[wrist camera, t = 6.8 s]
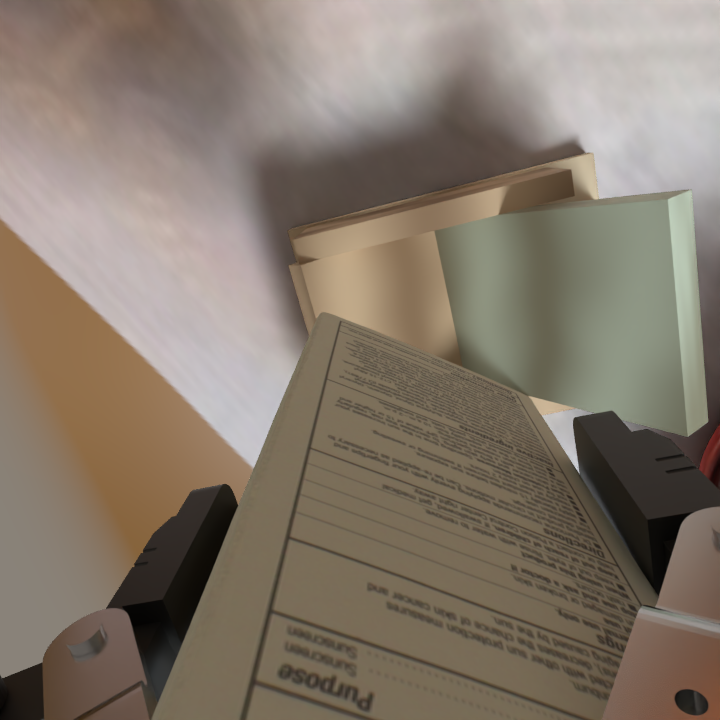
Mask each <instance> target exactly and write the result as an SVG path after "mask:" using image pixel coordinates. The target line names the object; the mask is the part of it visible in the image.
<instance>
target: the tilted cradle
mask: <svg viewBox="0 0 720 720" xmlns="http://www.w3.org/2000/svg"><path fill="white" fill-rule="evenodd" d="M287 232H288V235H289V238H290V242H291V245H292V249H293V252H294V256H295V259H296V263H294V264H291V265H288V266H289V269H290V272H291V276H292V279H293V283H294V286H295V290H296V293H297V297H298V300H299V303H300V307H301V310H302V314H303V317H304V321H305V324H306V327H307V331H308V334H309V335H310V333H311V331H312V328H313V326H314V324H315V321H316V319H317V317H318V315H319V314H320V313H322V312H326V313H330V314H333V315H336V316H338V317H340V318H343V319H346V320H348V321H351V322H354V323H356V324H359V325H361V326H364V327H367V328H369V329H372V330H375V331H377V332H379V333H382V334H384V335H387V336H389V337H392V338H394V339H396V340H399V341H401V342H404V343H406V344H408V345H411V346H413V347H416V348H418V349H420V350H423V351H425V352H428V353H430V354H433V355H435V356H438V357H440V358H442V359H444V360H447V361H449V362H451V363H454V364H456V365H459V366H461V367H463V368H466V369H468V370H470V371H473V372H475V373H477V374H480V375H482V376H484V377H487V378H489V379H491V380H493V381H495V382H498V383H500V384H502V385H505V386H507V387H509V388H511V389H514V390H516V391H518V392H520V393H522V394H525V395H526V396H528V397H529V398H530V399H531V400H532V401H533V403H534V405H535V406H536V408H537V410H538V411H539V413H540V414H541V415H546V414H551V413H556V412H560V411H565V410H570V409H575V408H577V409H581V410H585V411H589V412H593V413H601V412H606V411H614V412H615V413H616V414H617V416H618V417H619V418H620V419H621V420H624V421H628V422H632V423H635V424H639V425H643V426H647V427H651V428H655V429H659V430H663V431H666V432H670V433H674V434H678V435H682V436H686V437H689V436H690V435H691V434H693V433H694V432H695V431H697V430H698V429H700V428H701V427H702V426H704V425H705V424H706V423H708V411H707V397H706V383H705V369H704V355H703V341H702V327H701V313H700V299H699V285H698V271H697V257H696V243H695V229H694V215H693V201H692V189H691V190H681V191H672V192H662V193H652V194H643V195H633V196H623V197H614V198H604V199H599V196H598V188H597V179H596V171H595V163H594V154H593V153H584V154H580V155H576V156H572V157H569V158H565V159H561V160H557V161H553V162H549V163H545V164H541V165H537V166H533V167H529V168H526V169H522V170H518V171H514V172H510V173H506V174H502V175H498V176H494V177H490V178H486V179H483V180H479V181H475V182H471V183H467V184H463V185H459V186H455V187H451V188H447V189H444V190H440V191H436V192H432V193H428V194H424V195H420V196H416V197H412V198H408V199H404V200H401V201H397V202H393V203H389V204H385V205H381V206H377V207H373V208H369V209H365V210H362V211H358V212H354V213H350V214H346V215H342V216H338V217H334V218H330V219H326V220H322V221H319V222H315V223H311V224H307V225H303V226H299V227H295V228H291V229H290V230H288V231H287Z"/></svg>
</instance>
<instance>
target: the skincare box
mask: <svg viewBox="0 0 720 720" xmlns="http://www.w3.org/2000/svg"><path fill="white" fill-rule="evenodd" d="M658 598H659V596H658V595H657V593H656V592H655V590H654V589H653V587H652V586H651V584H650V583H649V581H648V580H647V578H646V577H645V575H644V574H643V572H642V571H641V569H640V568H639V566H638V565H637V563H636V561H635V560H634V558H633V557H632V555H631V554H630V552H629V550H628V549H627V547H626V546H625V544H624V543H623V541H622V540H621V538H620V537H619V535H618V533H617V532H616V530H615V529H614V527H613V526H612V524H611V523H610V521H609V520H608V518H607V517H606V515H605V513H604V512H603V510H602V509H601V507H600V506H599V504H598V503H597V501H596V500H595V498H594V497H593V495H592V493H591V492H590V490H589V489H588V487H587V485H586V484H585V482H584V481H583V479H582V478H581V476H580V474H579V473H578V471H577V470H576V468H575V467H574V465H573V464H572V462H571V460H570V459H569V457H568V456H567V454H566V453H565V451H564V450H563V448H562V447H561V445H560V444H559V442H558V440H557V439H556V437H555V436H554V434H553V433H552V431H551V430H550V428H549V427H548V425H547V423H546V422H545V420H544V419H543V417H542V416H541V414H540V413H539V411H538V410H537V408H536V406H535V405H534V403H533V401H532V400H531V399H530V398H529V397H528V396H526V395H525V394H522V393H520V392H518V391H516V390H514V389H511V388H509V387H507V386H505V385H502V384H500V383H498V382H495V381H493V380H491V379H489V378H487V377H484V376H482V375H480V374H477V373H475V372H473V371H470V370H468V369H466V368H463V367H461V366H459V365H456V364H454V363H451V362H449V361H447V360H444V359H442V358H440V357H438V356H435V355H433V354H430V353H428V352H425V351H423V350H420V349H418V348H416V347H413V346H411V345H408V344H406V343H404V342H401V341H399V340H396V339H394V338H392V337H389V336H387V335H384V334H382V333H379V332H377V331H375V330H372V329H369V328H367V327H364V326H361V325H359V324H356V323H354V322H351V321H348V320H346V319H343V318H340V317H338V316H336V315H333V314H330V313H326V312H322V313H320V314H319V315H318V317H317V319H316V321H315V324H314V326H313V328H312V331H311V333H310V335H309V338H308V340H307V342H306V345H305V347H304V349H303V351H302V354H301V356H300V359H299V361H298V363H297V366H296V368H295V371H294V373H293V375H292V378H291V380H290V382H289V385H288V387H287V389H286V392H285V394H284V396H283V399H282V401H281V403H280V406H279V408H278V411H277V413H276V415H275V418H274V420H273V423H272V425H271V428H270V430H269V433H268V435H267V438H266V440H265V443H264V445H263V448H262V450H261V453H260V455H259V458H258V460H257V462H256V465H255V467H254V469H253V472H252V474H251V477H250V479H249V481H248V484H247V486H246V489H245V491H244V493H243V496H242V498H241V500H240V503H239V505H238V507H237V510H236V512H235V514H234V517H233V519H232V522H231V524H230V527H229V529H228V532H227V534H226V537H225V539H224V542H223V544H222V547H221V549H220V552H219V554H218V557H217V559H216V562H215V564H214V567H213V569H212V572H211V574H210V577H209V579H208V582H207V584H206V587H205V589H204V592H203V594H202V597H201V599H200V602H199V604H198V607H197V609H196V611H195V614H194V616H193V619H192V621H191V624H190V626H189V629H188V631H187V634H186V636H185V639H184V641H183V643H182V646H181V648H180V651H179V653H178V656H177V658H176V660H175V663H174V665H173V668H172V670H171V673H170V675H169V677H168V680H167V682H166V685H165V687H164V690H163V692H162V694H161V697H160V699H159V702H158V704H157V707H156V709H155V711H154V714H153V716H152V719H151V720H602V717H603V714H604V711H605V709H606V706H607V703H608V700H609V697H610V694H611V691H612V688H613V685H614V682H615V679H616V676H617V673H618V670H619V667H620V664H621V661H622V658H623V655H624V652H625V649H626V646H627V643H628V640H629V637H630V634H631V631H632V628H633V625H634V622H635V619H636V616H637V614H638V611H639V610H640V608H641V607H642V606H643V605H648V606H652V607H656V604H657V601H658Z"/></svg>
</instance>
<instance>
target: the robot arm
mask: <svg viewBox="0 0 720 720" xmlns="http://www.w3.org/2000/svg"><path fill="white" fill-rule="evenodd" d="M573 429H574V436H575V443H576V450H577V457H578V464H579V471H580V476H581V478H582V479H583V481H584V482H585V484H586V485H587V487H588V489H589V490H590V492H591V493H592V495H593V497H594V498H595V500H596V501H597V503H598V504H599V506H600V507H601V509H602V510H603V512H604V513H605V515H606V517H607V518H608V520H609V521H610V523H611V524H612V526H613V527H614V529H615V530H616V532H617V533H618V535H619V537H620V538H621V540H622V541H623V543H624V544H625V546H626V547H627V549H628V550H629V552H630V554H631V555H632V557H633V558H634V560H635V561H636V563H637V565H638V566H639V568H640V569H641V571H642V572H643V574H644V575H645V577H646V578H647V580H648V581H649V583H650V584H651V586H652V587H653V589H654V590H655V592H656V593H657V595H658V596H659V598H658V601H657V604H656V607H652V606H648V605H643V606H642V607H641V608H640V610H639V611H638V614H637V616H636V619H635V622H634V625H633V628H632V631H631V634H630V637H629V640H628V643H627V646H626V649H625V652H624V655H623V658H622V661H621V664H620V667H619V670H618V673H617V676H616V679H615V682H614V685H613V688H612V691H611V694H610V697H609V700H608V703H607V706H606V709H605V711H604V714H603V717H602V720H720V490H719V489H718V488H717V487H716V486H715V485H714V484H713V483H712V482H711V481H710V480H709V479H708V478H707V477H706V476H705V475H704V474H703V473H702V472H701V471H700V470H699V469H696V466H695V465H694V464H693V463H692V461H691V460H690V459H689V458H688V457H687V456H686V457H685V456H684V453H683V452H682V451H681V450H680V449H679V448H678V447H677V446H676V445H675V444H674V443H673V442H672V441H671V440H670V439H668V438H666V437H664V436H661V435H659V434H657V433H655V432H652V431H650V430H648V429H644V430H639V431H633V432H631V431H630V430H629V428H628V427H627V426H626V425H625V424H624V423H623V421H622V420H621V419H620V418H619V417H618V416H617V414H616V413H615V412H614V411H606V412H601V413H596V414H590V415H585V416H580V417H575V418H574V420H573ZM237 507H238V504H237V501H236V498H235V496H234V493H233V491H232V489H231V488H230V486H229V485H227V484H222V485H217V486H212V487H207V488H202V489H196V490H193V491H191V492H190V494H189V496H188V497H187V499H186V500H185V502H184V504H183V505H182V507H181V509H180V510H179V512H178V514H177V516H174V517H171V518H170V519H169V520H168V521H167V522H166V523H165V524H164V525H162V526H161V527H160V528H159V529H158V530H157V531H156V532H155V533H154V534H153V535H152V537H151V538H150V540H149V541H148V543H147V545H146V546H145V548H144V549H143V553H141V554H140V556H139V557H138V559H137V560H136V562H135V564H134V565H135V567H132V569H131V570H130V571H129V573H128V575H127V576H126V578H125V580H124V581H123V583H122V584H121V586H120V587H119V589H118V590H117V592H116V593H115V595H114V597H113V598H112V600H111V602H110V603H109V605H108V606H107V608H106V609H103V610H100V611H96V612H94V613H91V614H89V615H87V616H85V617H83V618H81V619H79V620H77V621H76V622H74V623H73V624H71V625H70V626H69V627H67V628H66V629H65V630H63V631H62V632H61V633H60V634H59V635H58V636H57V637H56V638H55V639H54V640H53V641H52V643H51V644H50V645H49V647H48V649H47V650H46V652H45V654H44V657H43V663H40V664H38V665H35V666H32V667H30V668H28V669H25V670H23V671H20V672H18V673H15V674H12V675H10V676H8V677H5V678H1V676H0V720H151V719H152V716H153V714H154V711H155V709H156V707H157V704H158V702H159V699H160V697H161V694H162V692H163V690H164V687H165V685H166V682H167V680H168V677H169V675H170V673H171V670H172V668H173V665H174V663H175V660H176V658H177V656H178V653H179V651H180V648H181V646H182V643H183V641H184V639H185V636H186V634H187V631H188V629H189V626H190V624H191V621H192V619H193V616H194V614H195V611H196V609H197V607H198V604H199V602H200V599H201V597H202V594H203V592H204V589H205V587H206V584H207V582H208V579H209V577H210V574H211V572H212V569H213V567H214V564H215V562H216V559H217V557H218V554H219V552H220V549H221V547H222V544H223V542H224V539H225V537H226V534H227V532H228V529H229V527H230V524H231V522H232V519H233V517H234V514H235V512H236V510H237Z"/></svg>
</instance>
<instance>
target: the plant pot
mask: <svg viewBox="0 0 720 720" xmlns="http://www.w3.org/2000/svg"><path fill="white" fill-rule="evenodd" d="M699 470H700V471H701V472H702V473H703V474H704V475H705V476H706V477H707V478H708V479H709V480H710V481H711V482H712V483H713V484H714V485H715V486H716V487H717V488H718V489H719V490H720V425H719V426H718V427H717V429H716V430H715V432H714V433H713V435H712V437H711V439H710V440H709V442H708V444H707V446H706V449H705V451H704V453H703V456H702V459H701V463H700V467H699Z"/></svg>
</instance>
